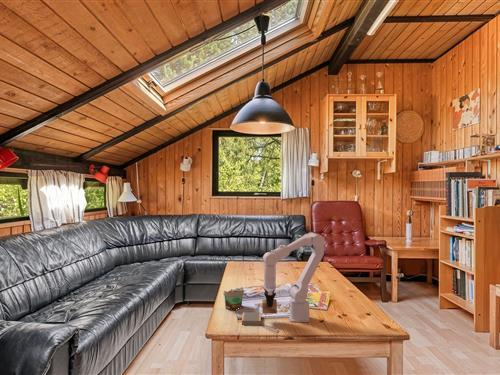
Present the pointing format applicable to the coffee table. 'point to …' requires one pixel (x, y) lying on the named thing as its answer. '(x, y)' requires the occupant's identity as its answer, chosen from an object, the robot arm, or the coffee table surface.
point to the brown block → (269, 309)
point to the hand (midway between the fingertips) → (269, 304)
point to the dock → (251, 318)
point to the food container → (233, 299)
